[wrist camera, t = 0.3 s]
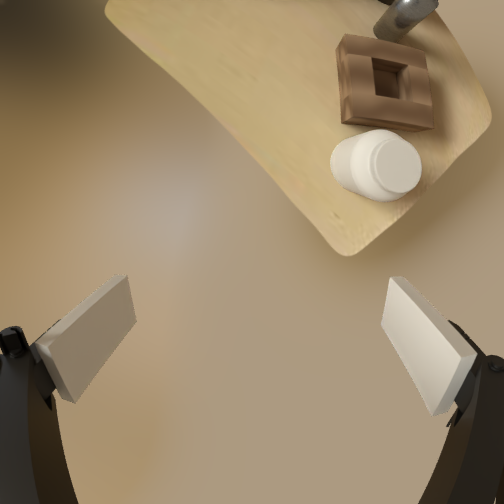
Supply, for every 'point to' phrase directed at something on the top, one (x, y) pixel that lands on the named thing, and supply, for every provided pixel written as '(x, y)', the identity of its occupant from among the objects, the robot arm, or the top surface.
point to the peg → (402, 18)
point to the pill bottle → (376, 165)
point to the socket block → (383, 84)
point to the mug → (387, 1)
